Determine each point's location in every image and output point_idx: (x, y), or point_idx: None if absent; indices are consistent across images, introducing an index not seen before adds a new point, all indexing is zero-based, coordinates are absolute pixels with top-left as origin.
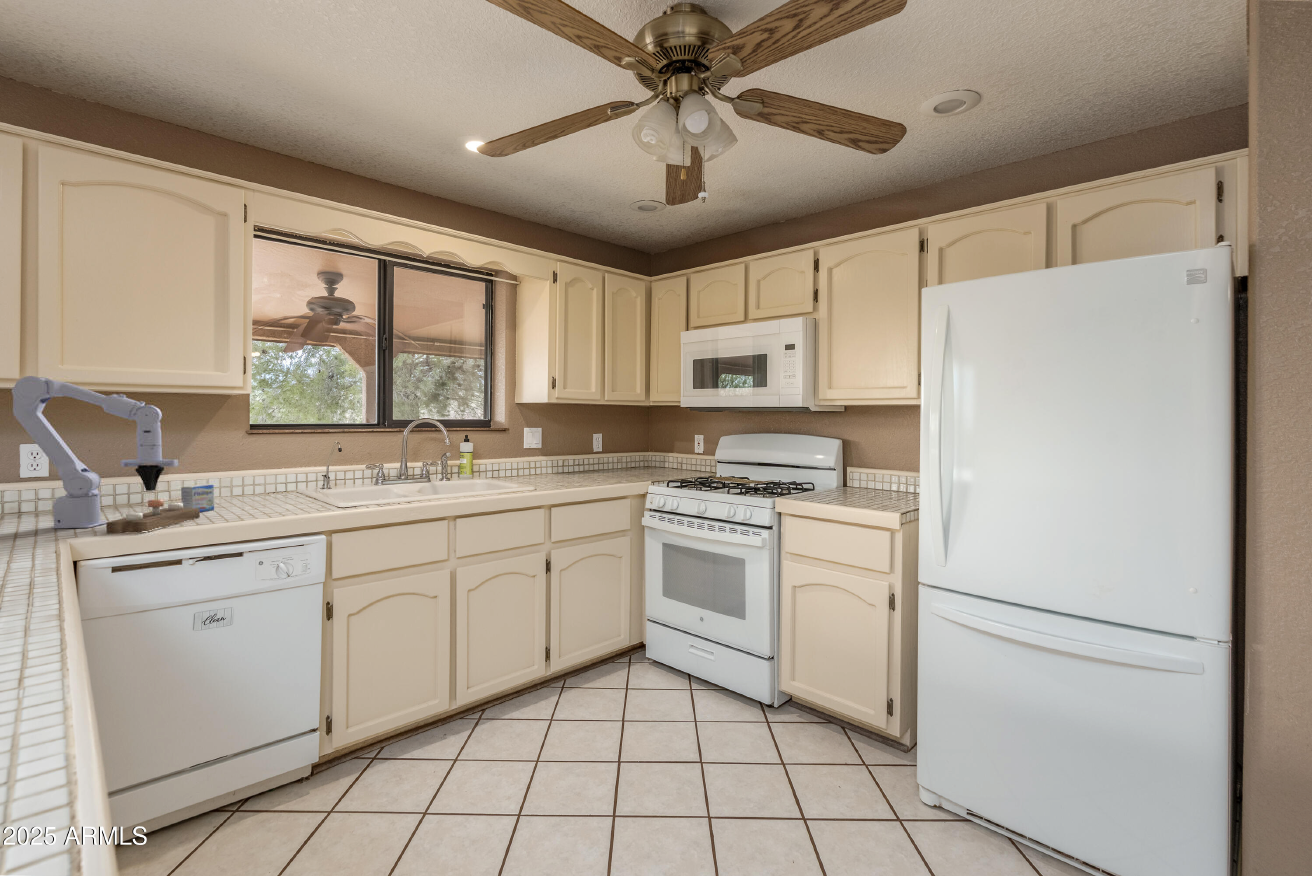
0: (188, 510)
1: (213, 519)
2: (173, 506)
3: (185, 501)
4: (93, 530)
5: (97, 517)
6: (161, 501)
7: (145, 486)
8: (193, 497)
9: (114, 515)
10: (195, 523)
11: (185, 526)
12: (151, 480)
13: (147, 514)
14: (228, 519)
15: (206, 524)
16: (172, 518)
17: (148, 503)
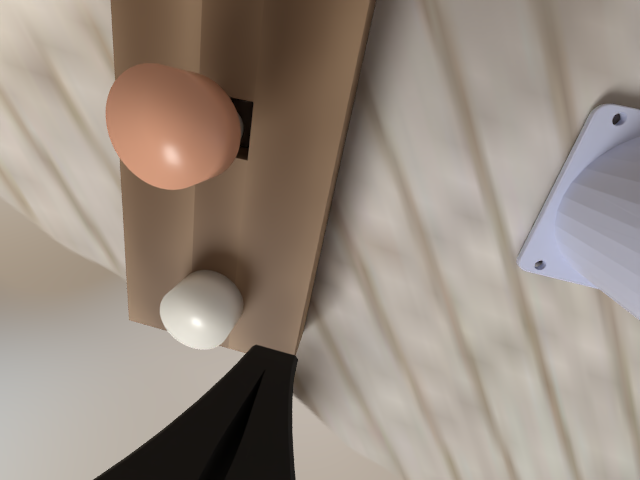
0: (129, 245)
1: (73, 217)
2: (193, 282)
3: None
4: (545, 3)
5: (587, 207)
6: (115, 105)
7: (281, 383)
8: None
9: (541, 471)
10: (83, 115)
11: (74, 17)
12: (169, 425)
13: (281, 153)
14: (9, 195)
15: (11, 61)
16: None
17: (205, 84)
